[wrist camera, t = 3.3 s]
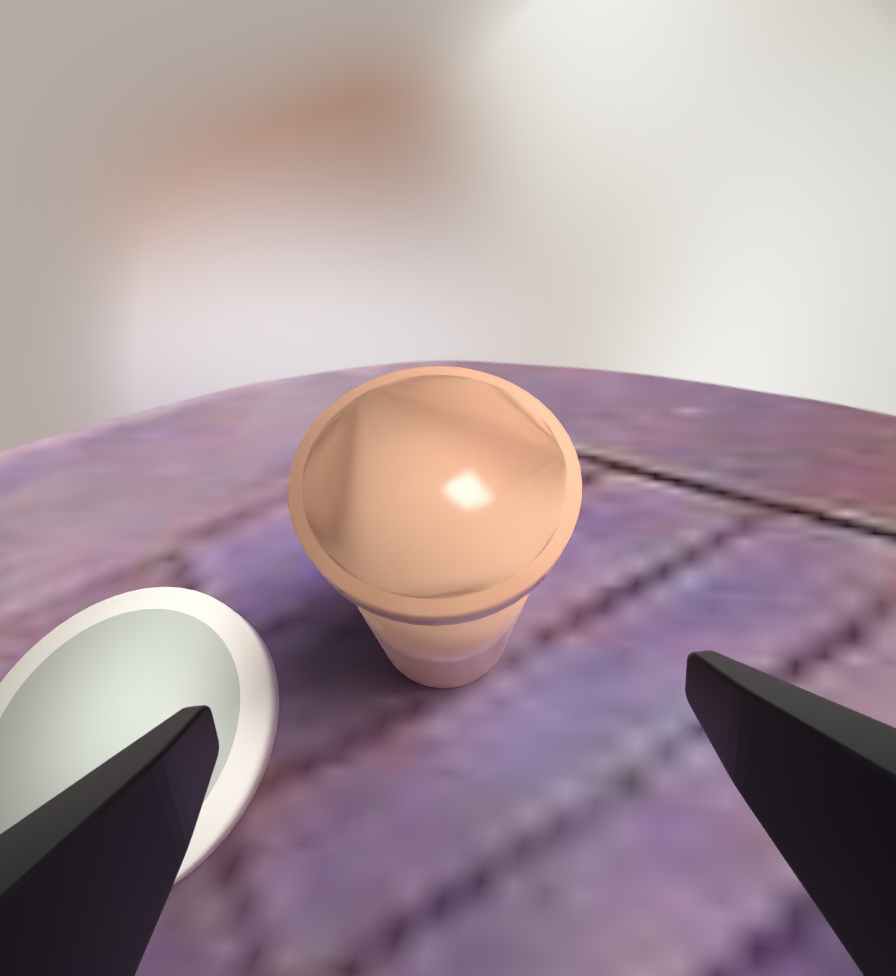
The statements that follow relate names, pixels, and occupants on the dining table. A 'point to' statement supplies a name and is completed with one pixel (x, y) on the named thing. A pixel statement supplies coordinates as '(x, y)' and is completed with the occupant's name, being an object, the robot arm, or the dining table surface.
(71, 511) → the dining table surface
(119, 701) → the round white dish
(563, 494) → the peach domed cylinder
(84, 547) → the dining table surface
